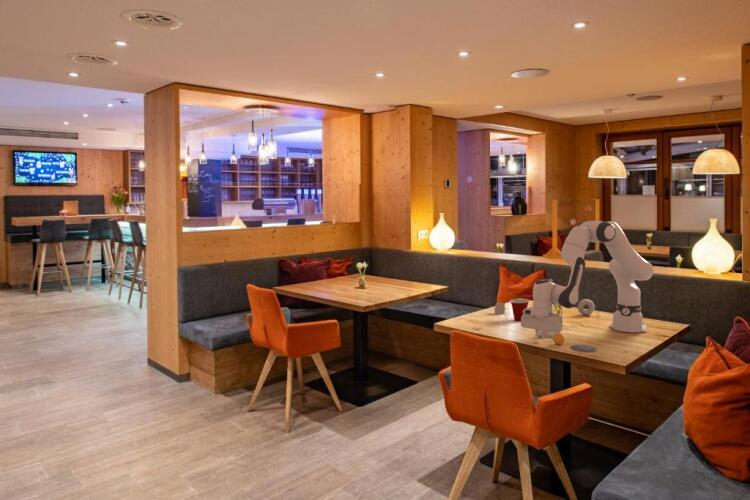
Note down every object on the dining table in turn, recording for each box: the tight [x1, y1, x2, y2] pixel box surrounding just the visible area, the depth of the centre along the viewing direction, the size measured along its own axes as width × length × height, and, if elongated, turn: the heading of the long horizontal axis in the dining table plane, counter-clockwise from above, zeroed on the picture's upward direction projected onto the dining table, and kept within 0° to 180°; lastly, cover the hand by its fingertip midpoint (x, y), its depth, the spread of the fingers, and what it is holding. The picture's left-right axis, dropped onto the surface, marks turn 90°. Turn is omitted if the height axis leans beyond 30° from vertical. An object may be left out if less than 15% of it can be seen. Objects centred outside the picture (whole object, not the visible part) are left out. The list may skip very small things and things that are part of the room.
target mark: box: [569, 344, 598, 353], centre depth 268 cm, size 12×12×1 cm
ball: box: [552, 332, 565, 345], centre depth 275 cm, size 6×6×6 cm
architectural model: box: [494, 301, 507, 315], centre depth 342 cm, size 3×7×7 cm, turn 91°
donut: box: [577, 298, 596, 316], centre depth 336 cm, size 10×4×10 cm, turn 87°
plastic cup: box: [509, 298, 530, 322], centre depth 324 cm, size 11×11×12 cm
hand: (540, 338), depth 281 cm, fingers closed
